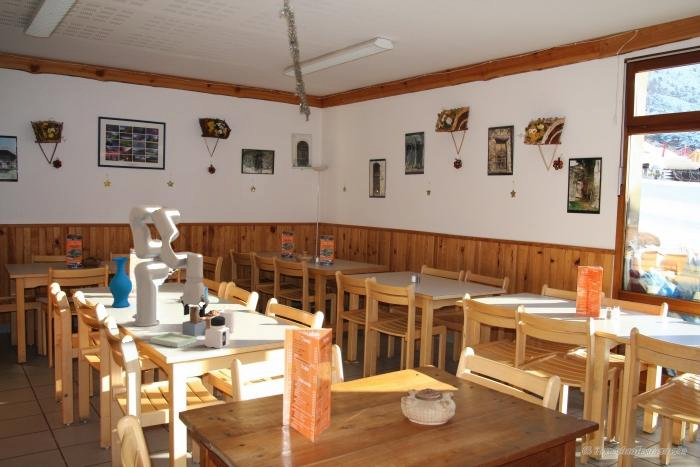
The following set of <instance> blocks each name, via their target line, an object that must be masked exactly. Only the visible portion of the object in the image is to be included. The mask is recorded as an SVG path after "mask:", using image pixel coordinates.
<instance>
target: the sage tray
mask: <svg viewBox="0 0 700 467" xmlns="http://www.w3.org/2000/svg"><path fill="white" fill-rule="evenodd" d="M150 343H152V344H157V345H161V346H166V347H171V346H172V348H176V347H178V348H181V347H185V346H187V344H188V345H192V344H195V343H198V336H197V337H193V336H188V335H182V334H181V333H175V332H168V333H163V334H160V335H156V336H153V337H150ZM191 343H192V344H191ZM184 345H185V346H184Z"/></svg>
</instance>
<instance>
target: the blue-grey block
mask: <svg viewBox="0 0 700 467" xmlns="http://www.w3.org/2000/svg"><path fill="white" fill-rule="evenodd" d="M206 329H207V321H205V320H200V319H199V323H196V324H193V323H190V320H186V321H183V322H182V335H188V336H193V337H197V338H198V337H200V336H203V335H205V330H206Z"/></svg>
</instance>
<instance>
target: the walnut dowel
mask: <svg viewBox="0 0 700 467" xmlns="http://www.w3.org/2000/svg"><path fill="white" fill-rule="evenodd" d="M189 307H190V314H189V321H190V323H193V324H196V323H199V320H200V317H199V309H200V307H199V306H198V305H193V306H189Z"/></svg>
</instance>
